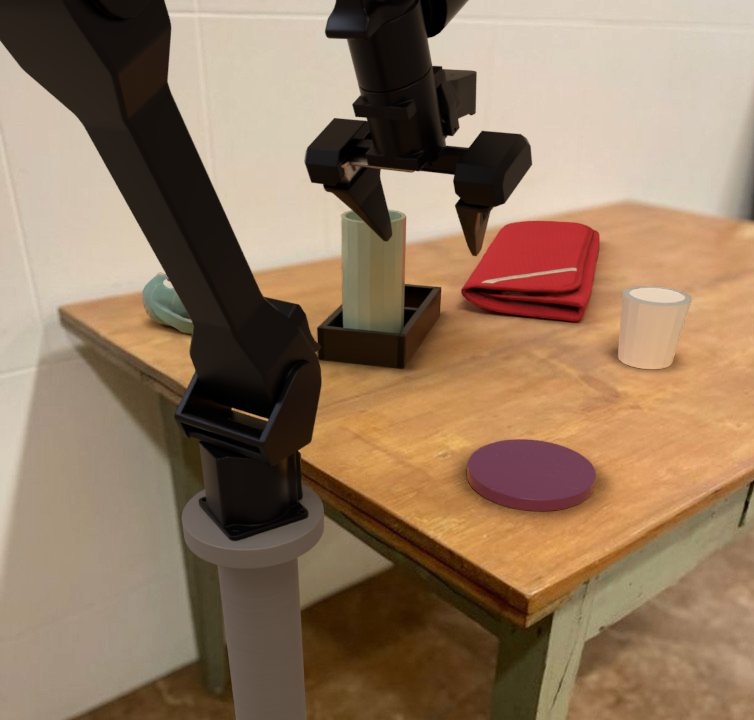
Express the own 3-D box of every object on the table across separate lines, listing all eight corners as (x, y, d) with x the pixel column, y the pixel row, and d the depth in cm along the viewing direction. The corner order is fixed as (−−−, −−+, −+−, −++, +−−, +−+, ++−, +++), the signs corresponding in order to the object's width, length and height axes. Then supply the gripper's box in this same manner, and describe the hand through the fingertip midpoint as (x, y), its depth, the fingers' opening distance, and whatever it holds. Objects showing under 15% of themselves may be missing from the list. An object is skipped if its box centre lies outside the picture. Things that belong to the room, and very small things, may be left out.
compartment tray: (403, 369, 84) (404, 336, 82) (317, 359, 86) (316, 327, 84) (440, 315, 99) (441, 286, 97) (365, 308, 101) (365, 280, 99)
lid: (524, 525, 59) (526, 513, 58) (441, 469, 66) (442, 458, 65) (621, 488, 63) (623, 477, 63) (534, 439, 71) (535, 429, 70)
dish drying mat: (600, 243, 130) (604, 218, 128) (586, 323, 96) (591, 292, 94) (502, 236, 133) (504, 212, 131) (456, 312, 100) (457, 281, 98)
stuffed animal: (249, 289, 89) (136, 270, 87) (242, 351, 92) (133, 334, 90) (253, 263, 98) (151, 245, 96) (246, 320, 101) (147, 304, 99)
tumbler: (394, 362, 86) (396, 224, 78) (335, 356, 87) (332, 219, 80) (408, 342, 91) (412, 210, 83) (353, 336, 92) (352, 206, 85)
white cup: (633, 343, 91) (644, 280, 87) (690, 359, 87) (704, 294, 83) (599, 359, 87) (609, 294, 83) (657, 376, 83) (671, 309, 79)
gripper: (554, 18, 60) (564, 203, 72) (346, 15, 68) (387, 181, 81) (488, 102, 55) (511, 284, 68) (274, 88, 64) (329, 252, 76)
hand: (431, 245), depth 73 cm, fingers open, 9 cm apart
